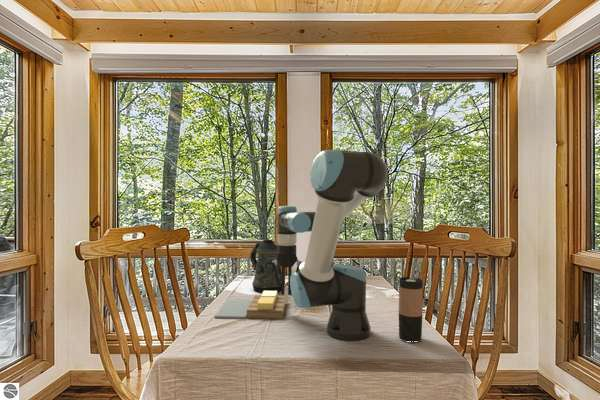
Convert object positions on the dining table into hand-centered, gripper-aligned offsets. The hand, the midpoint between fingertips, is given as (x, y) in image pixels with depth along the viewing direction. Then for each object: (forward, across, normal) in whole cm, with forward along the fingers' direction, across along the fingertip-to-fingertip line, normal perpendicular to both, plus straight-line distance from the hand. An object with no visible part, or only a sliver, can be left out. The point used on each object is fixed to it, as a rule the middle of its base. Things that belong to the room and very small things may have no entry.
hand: (286, 302), depth 152 cm
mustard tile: (+2, +8, 0) cm, 8 cm away
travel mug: (+5, -43, +24) cm, 50 cm away
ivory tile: (+2, +8, -11) cm, 14 cm away
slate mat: (+5, +21, -5) cm, 22 cm away
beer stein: (+5, +13, -40) cm, 43 cm away
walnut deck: (+5, +8, -5) cm, 11 cm away
